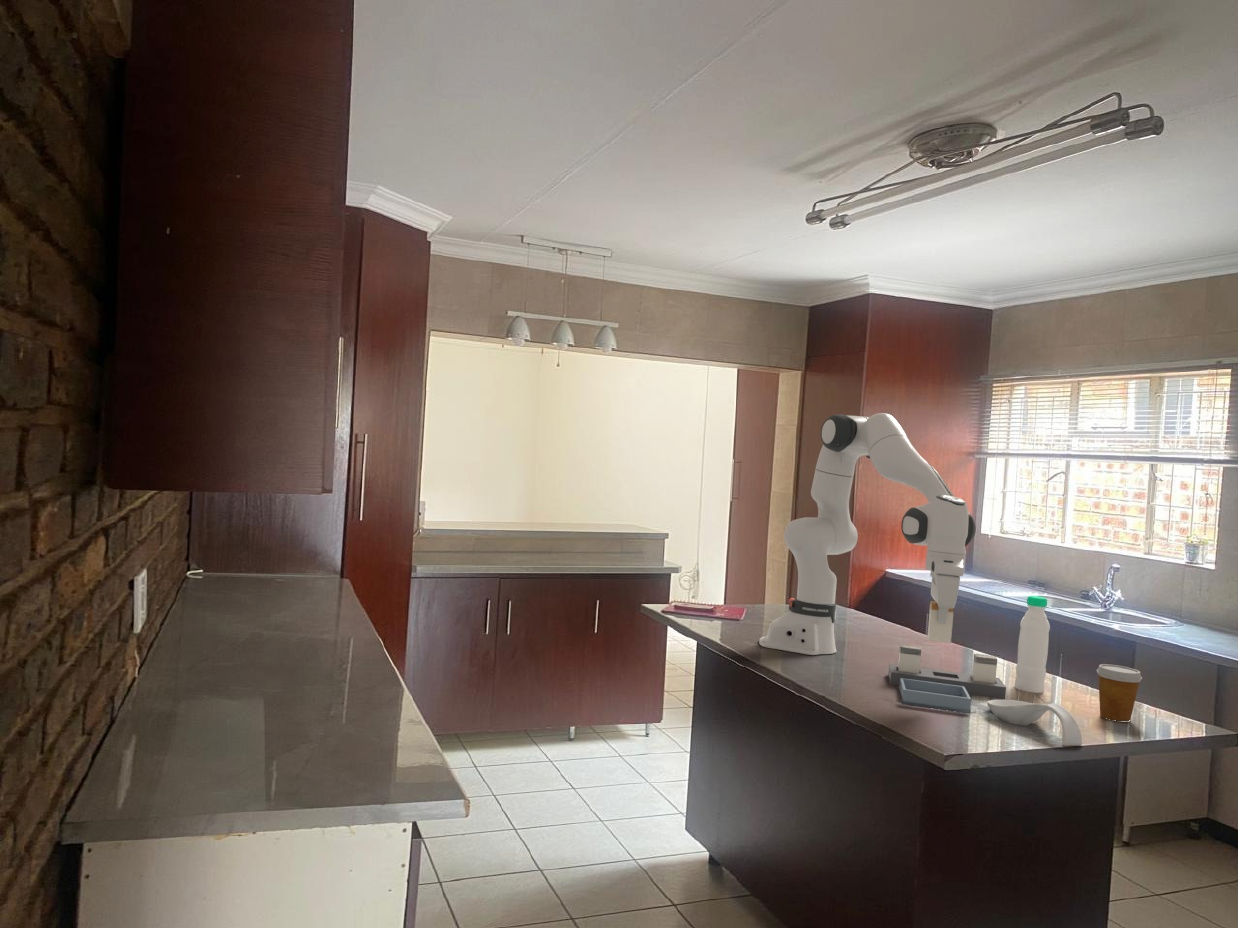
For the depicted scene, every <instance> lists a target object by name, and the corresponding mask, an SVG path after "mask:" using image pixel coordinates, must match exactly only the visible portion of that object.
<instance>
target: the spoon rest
mask: <svg viewBox="0 0 1238 928" xmlns="http://www.w3.org/2000/svg"><path fill="white" fill-rule="evenodd" d="M986 703H987V705H988V709H990V711H991V712H992V714H993V715H995V716H996V717H997V718H999V719H1001V720H1002V721H1004V722H1006V723H1009V724H1012V725H1013V724H1014V725H1020V726H1029V725H1031V724H1033V723H1035V722H1036V721H1038V720H1039V719H1041V718H1042V717H1043V715H1044V714H1045V713H1046V712H1047V711H1050V712H1052V713H1053V714H1055V715H1056V716H1057V718H1058V719H1059V721H1060V723H1061V728H1062V729H1061V730H1062V738H1061V739H1062V741H1061V742H1062V743H1061V745H1062V746H1065V747H1073V746H1075V747H1076V746H1077V747H1078V746H1081V745H1082V744H1083V738H1082V737H1083V736H1082V734H1081V733H1082V732H1081V729H1080V727H1079V724H1078V722H1077V721H1076V720H1075V718H1074V716H1073V715H1072V714H1071V712H1069V710H1067V709H1066V708H1065V707H1064V706H1062V705H1061V704H1058V703H1053V702H1052V703H1049V704H1044V703H1033V702H1028V701H1022V700H1015V699H1014V700H1013V699H1005V700H1003V699H991V700H988V701H987V702H986Z"/></svg>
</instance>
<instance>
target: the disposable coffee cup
mask: <svg viewBox="0 0 1238 928" xmlns="http://www.w3.org/2000/svg"><path fill="white" fill-rule="evenodd" d="M1096 673H1097V677H1098V694H1099V695H1098V697H1099V716H1100V717H1101V718H1102V717H1103V718H1102V719H1104V718H1107V719H1110V720H1116V721H1129V720H1130V721H1131V719H1132V714H1133V710H1134V706H1135V702H1136V699H1137V694H1138V690H1139V686H1140V682H1141V681H1142V680H1143V676H1142V675H1141V671H1140V670H1138V669H1135V668H1133V667H1132V668H1131V667H1128V666H1125V665H1124V666H1122V665H1116V664H1110V663H1109V664H1106V663H1102V664H1099V665H1098V667H1097V669H1096ZM1107 719H1106V720H1107ZM1110 720H1109V721H1110Z"/></svg>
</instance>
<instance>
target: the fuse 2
mask: <svg viewBox="0 0 1238 928" xmlns="http://www.w3.org/2000/svg"><path fill="white" fill-rule="evenodd" d="M972 661H973V662H972V681H980V682H987V683H995V681H996V678H997V669H998V667H997V666H998V658H997V657H996V656H995V655H990V654H989V655H988V654H982V653H981V654H979V653H973V660H972Z"/></svg>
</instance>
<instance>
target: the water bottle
mask: <svg viewBox="0 0 1238 928" xmlns="http://www.w3.org/2000/svg"><path fill="white" fill-rule="evenodd" d="M1026 606H1027V608H1028V609H1027V610H1026V612H1025V613H1024V616H1022V619H1021V620H1020V623H1019V626H1020V630H1019V635H1018V644H1017V663H1016V669H1015V680H1014V688H1015V689H1017V690H1020V691H1023V692H1027V693H1028V692H1029V693H1035V694H1036V693H1037V694H1042V693H1043V694H1044V693H1045V687H1046V686H1045V681H1046V675H1047V670H1046V667H1047V661H1048V653H1049V637H1050V636H1049V635H1050V633H1049V632H1050V630H1051V624H1050V622H1049V620H1048V616H1047V615H1046V613H1045V610H1046V609H1047V606H1048V599H1047V598H1046V597H1043V596H1037V595H1029V596H1027V599H1026Z"/></svg>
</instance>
